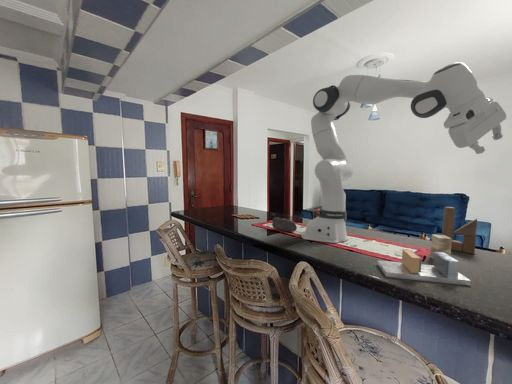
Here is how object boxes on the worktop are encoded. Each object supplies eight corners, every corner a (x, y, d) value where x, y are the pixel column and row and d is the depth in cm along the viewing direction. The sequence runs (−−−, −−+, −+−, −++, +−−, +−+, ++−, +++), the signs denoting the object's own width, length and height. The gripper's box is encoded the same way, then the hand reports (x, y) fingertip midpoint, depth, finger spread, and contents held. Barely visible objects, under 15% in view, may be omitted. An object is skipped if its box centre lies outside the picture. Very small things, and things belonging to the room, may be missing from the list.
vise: (386, 276, 71) (387, 256, 71) (377, 264, 81) (378, 246, 80) (470, 285, 66) (472, 263, 65) (450, 271, 75) (452, 252, 75)
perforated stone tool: (298, 232, 125) (299, 219, 124) (293, 234, 121) (294, 221, 120) (276, 227, 135) (276, 216, 134) (271, 229, 131) (271, 217, 130)
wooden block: (474, 254, 92) (477, 210, 90) (440, 248, 99) (443, 207, 98) (474, 252, 94) (478, 209, 93) (441, 246, 102) (444, 206, 100)
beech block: (437, 261, 83) (438, 237, 83) (430, 257, 88) (432, 234, 88) (450, 263, 82) (451, 238, 82) (442, 258, 87) (444, 235, 87)
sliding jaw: (411, 272, 70) (412, 257, 70) (401, 262, 78) (402, 249, 77) (420, 273, 69) (422, 258, 69) (410, 263, 77) (411, 249, 77)
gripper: (478, 99, 79) (497, 133, 80) (439, 127, 75) (460, 162, 76) (501, 90, 73) (521, 127, 74) (460, 119, 69) (482, 158, 70)
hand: (490, 145), depth 75 cm, fingers open, 8 cm apart
